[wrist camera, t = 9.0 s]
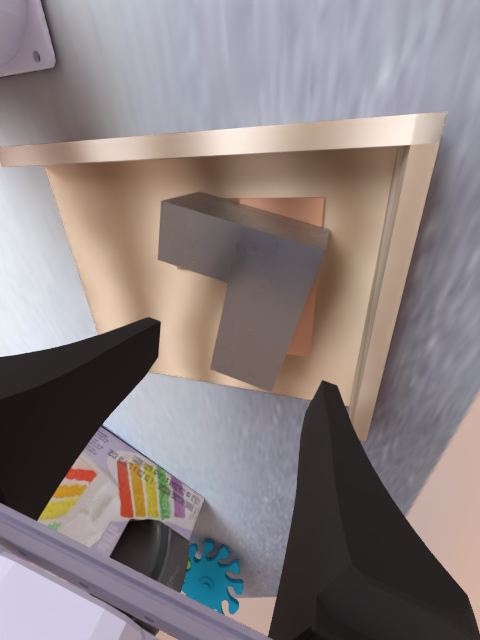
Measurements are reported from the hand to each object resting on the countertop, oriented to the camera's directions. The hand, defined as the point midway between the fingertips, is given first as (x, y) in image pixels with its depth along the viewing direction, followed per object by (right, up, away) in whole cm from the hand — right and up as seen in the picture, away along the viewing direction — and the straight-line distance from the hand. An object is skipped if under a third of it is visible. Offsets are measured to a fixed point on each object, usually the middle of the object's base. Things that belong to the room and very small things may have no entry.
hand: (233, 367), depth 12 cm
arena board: (-2, +5, +9) cm, 10 cm away
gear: (-4, -31, +30) cm, 44 cm away
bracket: (+1, +5, +7) cm, 9 cm away
